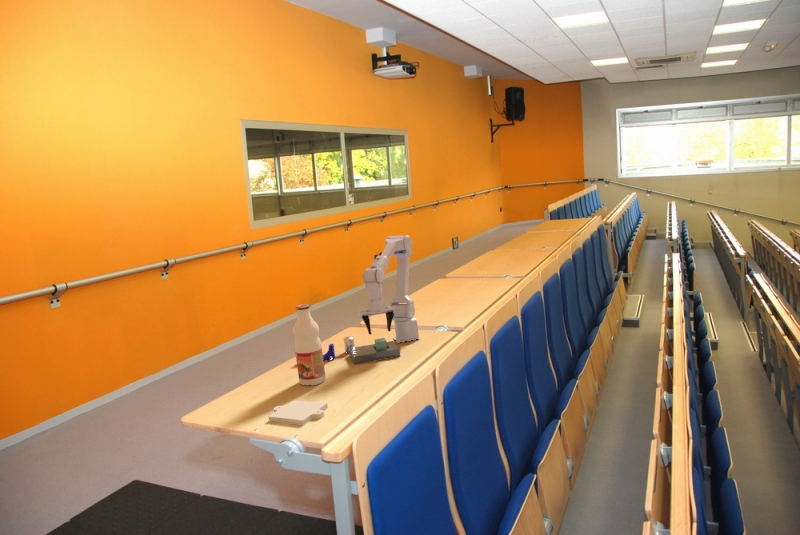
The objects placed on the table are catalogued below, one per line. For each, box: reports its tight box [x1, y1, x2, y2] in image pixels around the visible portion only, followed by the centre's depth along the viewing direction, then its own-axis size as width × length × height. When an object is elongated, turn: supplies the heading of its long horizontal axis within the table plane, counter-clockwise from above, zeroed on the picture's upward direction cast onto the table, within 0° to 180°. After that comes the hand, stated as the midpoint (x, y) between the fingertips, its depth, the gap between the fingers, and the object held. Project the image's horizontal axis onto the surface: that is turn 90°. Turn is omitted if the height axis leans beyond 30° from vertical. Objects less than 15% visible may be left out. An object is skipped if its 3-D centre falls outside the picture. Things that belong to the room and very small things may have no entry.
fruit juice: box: [292, 303, 326, 387], centre depth 215 cm, size 9×9×28 cm
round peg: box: [343, 335, 356, 354], centre depth 247 cm, size 4×4×6 cm
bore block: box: [348, 340, 401, 365], centre depth 239 cm, size 18×12×3 cm, turn 103°
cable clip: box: [323, 343, 336, 362], centre depth 240 cm, size 12×4×6 cm, turn 88°
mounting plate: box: [268, 399, 329, 426], centre depth 188 cm, size 18×13×2 cm
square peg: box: [374, 337, 388, 350], centre depth 239 cm, size 4×4×6 cm
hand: (379, 332), depth 238 cm, fingers open, 7 cm apart
